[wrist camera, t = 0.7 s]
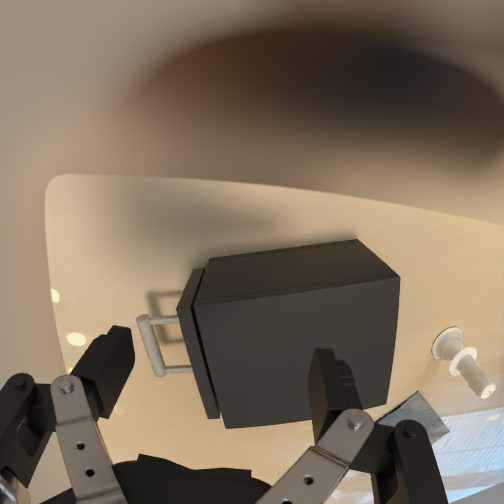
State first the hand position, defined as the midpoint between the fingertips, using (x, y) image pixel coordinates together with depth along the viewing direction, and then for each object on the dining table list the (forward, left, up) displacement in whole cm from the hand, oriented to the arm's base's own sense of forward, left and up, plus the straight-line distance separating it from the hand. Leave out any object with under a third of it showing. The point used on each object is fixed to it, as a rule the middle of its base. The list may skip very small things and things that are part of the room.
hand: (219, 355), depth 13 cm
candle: (+19, +27, -21) cm, 39 cm away
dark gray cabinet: (+9, +5, -21) cm, 23 cm away
